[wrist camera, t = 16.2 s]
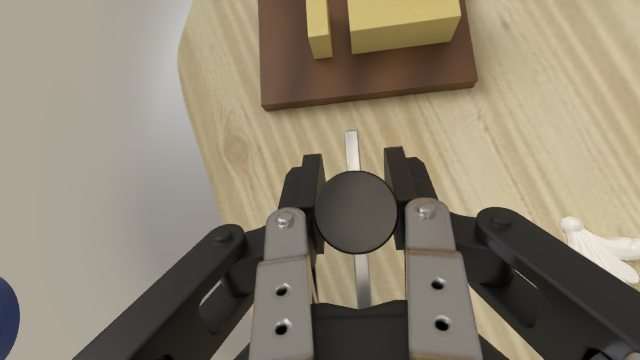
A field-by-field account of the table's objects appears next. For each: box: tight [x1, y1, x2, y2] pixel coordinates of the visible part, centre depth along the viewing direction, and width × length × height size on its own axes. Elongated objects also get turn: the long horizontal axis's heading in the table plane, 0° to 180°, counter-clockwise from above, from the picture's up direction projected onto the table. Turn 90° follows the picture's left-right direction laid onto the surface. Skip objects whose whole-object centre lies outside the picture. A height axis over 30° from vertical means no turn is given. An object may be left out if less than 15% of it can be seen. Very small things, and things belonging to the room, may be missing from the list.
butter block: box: [347, 0, 461, 54], centre depth 33 cm, size 10×5×4 cm, turn 93°
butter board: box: [258, 0, 478, 111], centre depth 36 cm, size 22×14×2 cm, turn 93°
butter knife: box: [314, 130, 399, 309], centre depth 15 cm, size 8×3×10 cm, turn 3°
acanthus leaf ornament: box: [560, 216, 640, 287], centre depth 29 cm, size 8×7×2 cm
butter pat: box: [306, 0, 333, 59], centre depth 34 cm, size 2×5×4 cm, turn 3°
